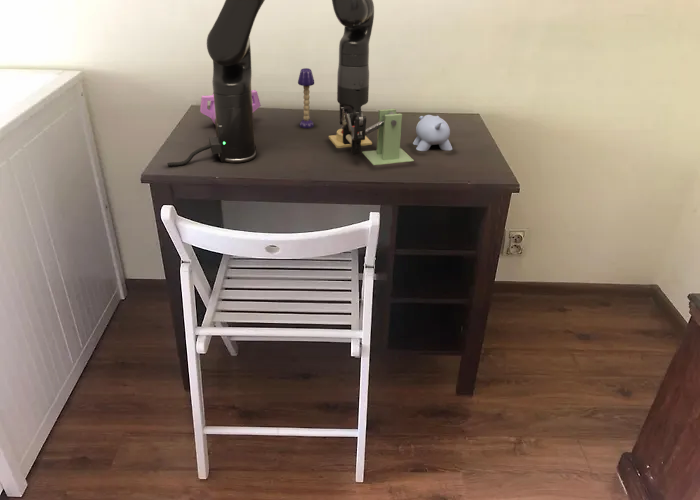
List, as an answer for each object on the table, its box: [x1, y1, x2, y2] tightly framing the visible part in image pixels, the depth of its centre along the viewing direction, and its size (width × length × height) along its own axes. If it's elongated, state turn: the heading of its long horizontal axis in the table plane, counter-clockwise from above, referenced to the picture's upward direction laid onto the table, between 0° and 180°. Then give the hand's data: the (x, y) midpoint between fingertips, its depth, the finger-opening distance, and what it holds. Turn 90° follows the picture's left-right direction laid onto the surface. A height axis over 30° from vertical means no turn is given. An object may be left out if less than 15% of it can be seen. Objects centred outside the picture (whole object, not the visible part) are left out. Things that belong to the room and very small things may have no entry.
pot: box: [199, 89, 262, 125], centre depth 171 cm, size 18×17×12 cm
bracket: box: [361, 108, 415, 166], centre depth 152 cm, size 11×9×13 cm
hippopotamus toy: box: [412, 114, 453, 152], centre depth 162 cm, size 11×15×10 cm
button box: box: [328, 128, 373, 149], centre depth 163 cm, size 10×8×4 cm
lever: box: [346, 111, 394, 145], centre depth 149 cm, size 13×5×2 cm, turn 108°
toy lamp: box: [297, 67, 315, 129], centre depth 171 cm, size 5×5×17 cm
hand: (351, 148), depth 150 cm, fingers open, 6 cm apart
